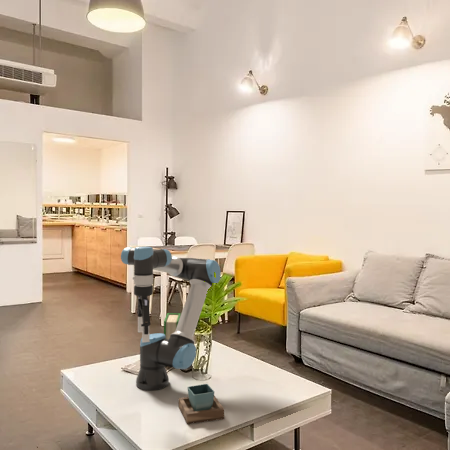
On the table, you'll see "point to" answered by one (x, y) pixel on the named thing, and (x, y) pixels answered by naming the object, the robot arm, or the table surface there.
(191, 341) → the robot arm
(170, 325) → the hardback book
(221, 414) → the wooden tray
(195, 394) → the flower pot
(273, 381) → the table surface
